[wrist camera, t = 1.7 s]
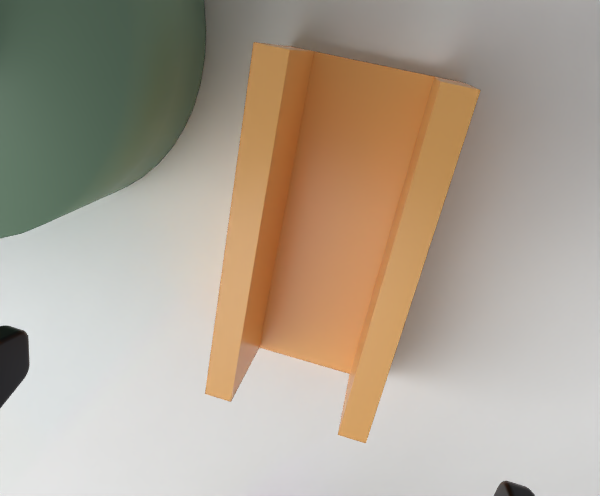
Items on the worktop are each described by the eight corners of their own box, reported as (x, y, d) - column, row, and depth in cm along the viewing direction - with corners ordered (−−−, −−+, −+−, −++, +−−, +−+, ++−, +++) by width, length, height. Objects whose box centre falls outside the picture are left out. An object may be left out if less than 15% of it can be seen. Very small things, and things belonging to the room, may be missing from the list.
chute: (374, 369, 21) (365, 443, 17) (243, 331, 22) (204, 393, 18) (463, 82, 16) (480, 90, 12) (291, 46, 17) (253, 42, 13)
